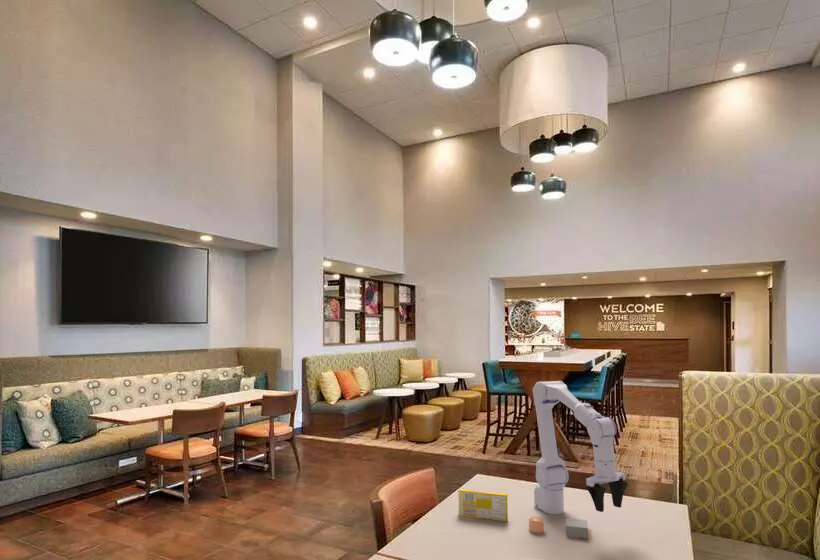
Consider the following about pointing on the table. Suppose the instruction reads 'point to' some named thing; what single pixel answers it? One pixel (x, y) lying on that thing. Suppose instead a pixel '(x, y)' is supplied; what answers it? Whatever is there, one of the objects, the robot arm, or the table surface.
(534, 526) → the clay cylinder
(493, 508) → the candy box
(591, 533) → the tower base
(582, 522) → the tower block
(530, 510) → the table surface
